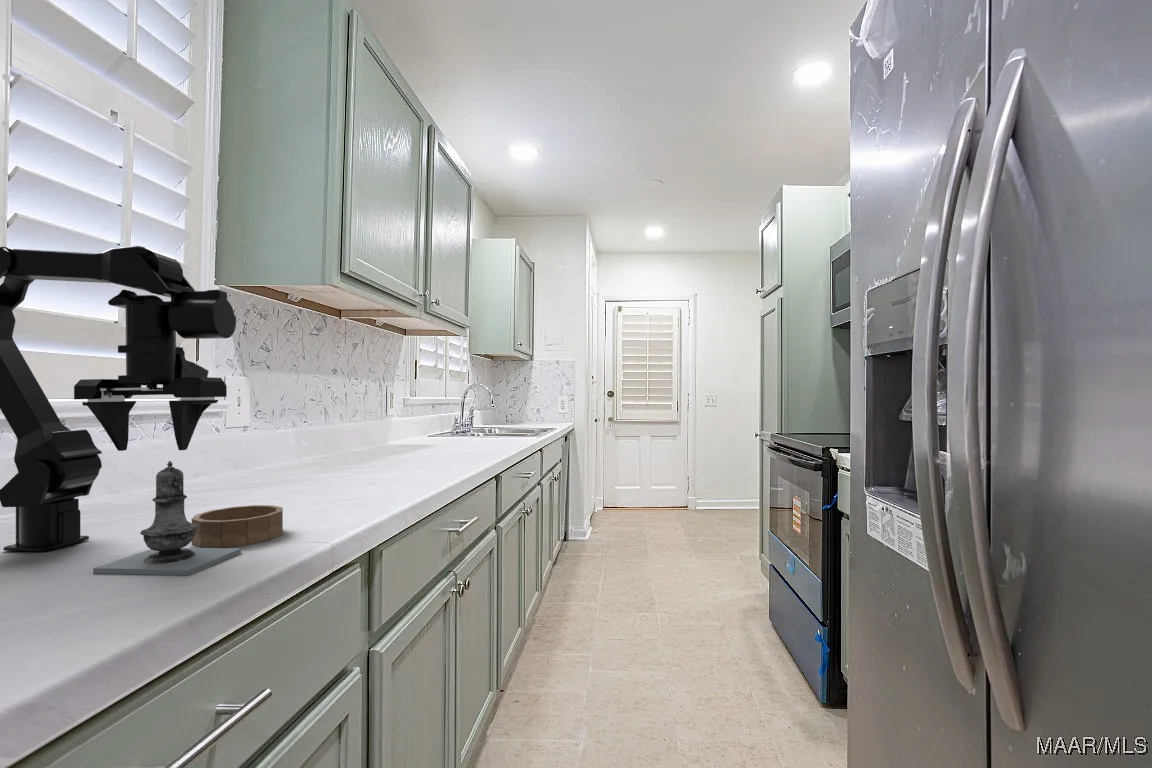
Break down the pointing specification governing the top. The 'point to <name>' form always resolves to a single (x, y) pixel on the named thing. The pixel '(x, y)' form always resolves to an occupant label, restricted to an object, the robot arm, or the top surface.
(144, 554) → the mat
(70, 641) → the top surface
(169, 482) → the salt shaker
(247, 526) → the ring
